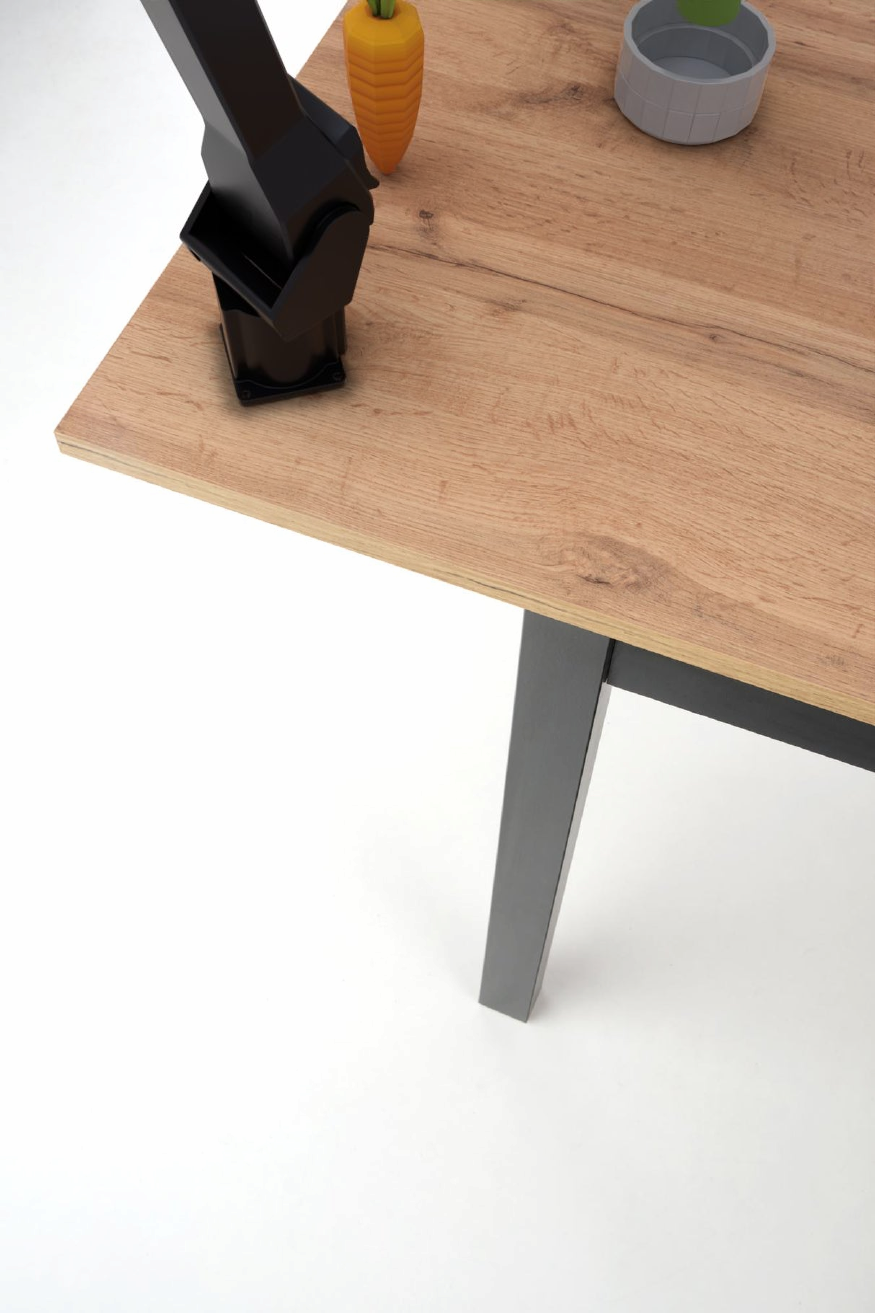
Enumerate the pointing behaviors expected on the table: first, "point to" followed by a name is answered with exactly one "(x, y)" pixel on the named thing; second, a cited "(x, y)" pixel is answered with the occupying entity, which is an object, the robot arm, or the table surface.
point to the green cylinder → (709, 11)
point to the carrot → (384, 75)
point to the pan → (692, 72)
